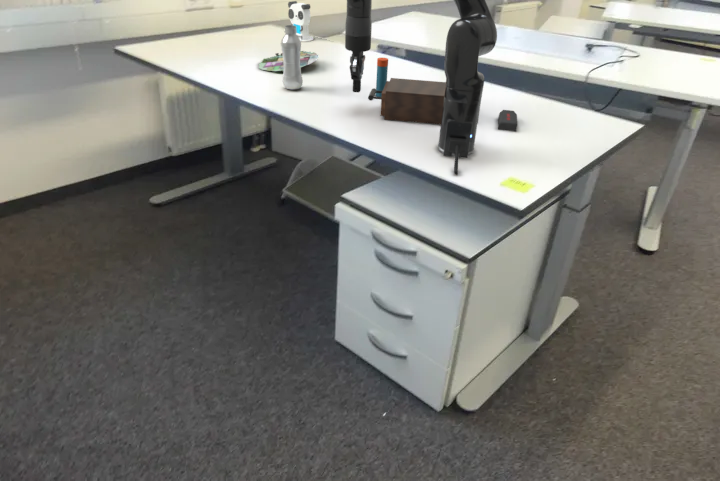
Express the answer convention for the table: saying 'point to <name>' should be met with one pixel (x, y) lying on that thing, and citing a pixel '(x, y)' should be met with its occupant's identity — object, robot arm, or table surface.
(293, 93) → the table surface
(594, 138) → the table surface
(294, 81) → the plastic bottle
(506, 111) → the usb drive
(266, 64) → the city model
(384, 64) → the glue stick
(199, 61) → the table surface
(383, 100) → the drawer
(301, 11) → the panda figurine
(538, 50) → the table surface
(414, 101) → the cabinet
